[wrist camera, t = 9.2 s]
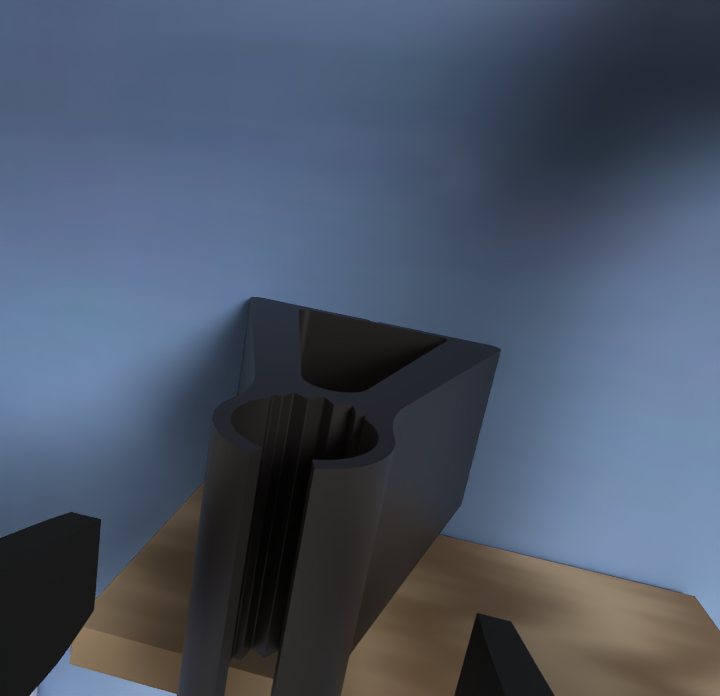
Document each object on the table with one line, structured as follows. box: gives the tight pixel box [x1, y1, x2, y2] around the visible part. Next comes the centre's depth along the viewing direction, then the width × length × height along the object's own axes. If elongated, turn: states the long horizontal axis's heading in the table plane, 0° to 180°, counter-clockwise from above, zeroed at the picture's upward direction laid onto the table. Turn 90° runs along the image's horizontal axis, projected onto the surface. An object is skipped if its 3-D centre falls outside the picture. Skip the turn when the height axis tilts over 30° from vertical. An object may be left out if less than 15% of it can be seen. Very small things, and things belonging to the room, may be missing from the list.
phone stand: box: [177, 297, 501, 696], centre depth 14 cm, size 9×6×12 cm, turn 79°
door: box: [70, 482, 720, 696], centre depth 16 cm, size 19×2×8 cm, turn 79°
